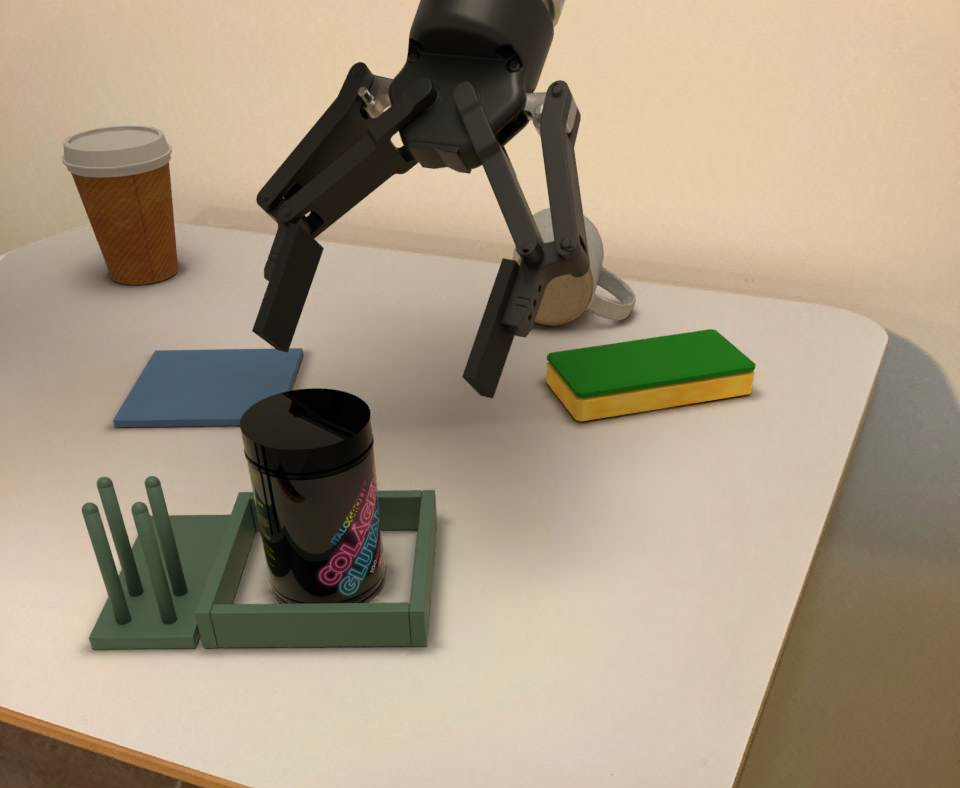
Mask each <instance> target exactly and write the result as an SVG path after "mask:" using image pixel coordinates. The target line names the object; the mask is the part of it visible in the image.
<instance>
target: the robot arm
mask: <svg viewBox="0 0 960 788" xmlns="http://www.w3.org/2000/svg"><path fill="white" fill-rule="evenodd" d="M566 1H567V0H419V3H418V6H417V8H416V11H415V15H414V17H413V21H412V23H411V26H410V30H409V34H408V45H407V55H406V61H405V63H404V65H403V66H402V68H401V69H400V70H399V72H398V73H397V74H396V75H395V76H394V77H393V78H390V77H385V76H382V75H377V74H374V73H373V72H372V71H371V70H370V68H369V67H368V65H367V64H366V63H365V62H363V61H358V62H355V63H354V64H353V65H352V66H351V67H350V68H349V70H348V71H347V72H348V73H347V74H346V76H345V79H344V81H343V83H342V86H341V88H340V90H339V91H338V93H337V94H338V95H337V96H336V98H335V99H334V101H332V102H331V104H330V105H329V106H328V107H327V109H326V110H325V111H324V112H323V113H322V115H321V116H320V118H318V120H316V122H315V123H314V124H313V126H312V127H311V128H310V129H309V131H308V132H307V133H306V134H305V135H304V137H303V138H302V139H301V140H300V141H299V143H298V144H297V145H296V146H295V147H294V149H293V150H292V151H290V153H289V155H288V156H287V157H286V158H285V160H284V161H283V162H282V163H281V164H280V166H279V167H278V168H277V169H276V170H275V172H274V173H273V174H272V175H271V177H270V178H269V179H268V180H267V181H266V182H265V184H264V185H263V187H261V188H260V190H259V191H258V193H257V194H256V198H255V200H256V204H257V205H258V206H259V208H260V209H261V210H262V211H264V213H266V214H267V215H268V217H270V218H271V219H272V220H273V221H274V222H275V223H276V224H277V230H276V234H275V235H274V238H273V242H272V245H271V247H270V250H269V253H268V256H267V260H266V262H265V264H264V268H263V278H264V279H265V280H266V281H267V282H268V283H267V287H266V289H265V292H264V295H263V298H262V301H261V303H260V306H259V309H258V312H257V315H256V317H255V321H254V324H253V326H252V329H251V332H252V333H254V334H255V335H257V336H258V337H259V338H260V339H262V340H263V341H265V342H266V343H267V344H269V346H271V347H272V348H273V349H277V350H279V351H283V352H288V351H289V348H291V344H292V342H293V339H294V336H295V334H296V330H297V328H298V324H299V323H300V318H301V315H302V314H303V310H304V308H305V304H306V302H307V298H308V296H309V293H310V290H311V287H312V284H313V281H314V278H315V276H316V273H317V269H318V267H319V264H320V262H321V258H322V256H323V252H324V249H325V248H324V246H322V245H321V244H320V243H319V242H318V240H317V239H316V238H318V237H319V236H320V235H321V234H322V233H323V232H325V231H326V230H327V229H329V228H330V227H331V226H332V225H334V224H335V223H336V222H337V221H338V220H340V219H341V218H342V217H344V215H346V214H347V213H349V212H350V211H351V210H353V209H354V207H356V206H357V205H358V204H360V203H361V202H362V201H363V200H365V198H367V197H368V196H370V194H372V193H373V192H374V191H375V190H378V188H379V187H380V186H382V185H383V184H385V183H386V182H387V181H388V180H389V179H390V178H392V177H393V176H395V175H404V174H406V173H408V172H409V171H410V170H411V169H413V168H414V167H415V166H416V165H418V164H419V165H420V166H421V167H422V168H424V169H431V170H438V169H443V168H448V169H451V170H453V171H455V172H457V173H462V174H467V175H468V174H469V175H470V174H471V173H472V170H474V169H477V168H480V167H482V168H483V170H484V173H485V175H486V178H487V179H488V182H489V184H490V187H491V190H492V193H493V195H494V197H495V199H496V201H497V204H498V207H499V209H500V211H501V214H502V216H503V219H504V221H505V224H506V227H507V228H508V231H509V234H510V236H511V238H512V241H513V243H514V246H516V248H517V249H516V251H517V253H518V254H519V256H520V257H521V262H520V265H518V263H517V262H516V260H512V259H509V258H505V257H503V258H502V259H501V261H500V265H499V267H498V270H497V274H496V276H495V280H494V283H493V285H492V287H491V291H490V294H489V297H488V300H487V303H486V305H485V308H484V312H483V315H482V317H481V320H480V322H479V326H478V329H477V332H476V335H475V338H474V341H473V343H472V344H473V345H472V347H471V350H470V353H469V355H468V358H467V362H466V365H465V367H464V371H463V373H462V376H461V378H463V379H464V381H465V382H466V383H467V384H468V385H469V386H470V387H471V388H472V389H473V390H474V391H475V392H476V393H477V394H478V395H479V396H480V397H483V398H487V399H493V400H494V397H495V394H496V392H497V389H498V386H499V383H500V380H501V377H502V374H503V371H504V368H505V365H506V362H507V359H508V356H509V354H510V351H511V347H512V345H513V342H514V338H515V337H520V338H527V337H528V336H529V334H530V333H531V332H532V330H533V327H534V325H535V323H536V322H535V318H536V316H537V313H538V310H539V307H540V304H541V302H542V299H543V296H544V293H545V290H546V287H547V285H548V284H549V282H550V281H551V280H552V279H554V278H556V277H558V276H563V275H569V274H570V275H571V276H573V277H576V278H577V277H582V276H584V275H585V274H586V273H587V272H588V271H589V269H590V259H589V252H588V244H587V237H586V230H585V223H584V216H585V215H584V209H583V208H584V207H583V202H582V196H581V195H582V194H581V187H580V180H579V173H578V167H577V166H578V165H577V160H576V159H577V158H576V152H575V146H576V142H577V137H578V133H579V130H580V129H579V128H580V123H581V119H582V114H581V112H580V110H579V107H578V105H577V102H576V100H575V98H574V95H573V93H572V91H571V88H570V87H569V85H568V83H567V81H565V80H563V79H558V80H555V81H554V82H551V84H550V85H549V86H547V90H546V91H545V92H544V91H543V92H541V91H540V92H535V91H536V89H537V87H538V84H539V81H540V78H541V76H542V72H543V69H544V67H545V64H546V61H547V58H548V55H549V52H550V49H551V46H552V44H553V40H554V35H555V27H556V26H557V25H558V23H559V19H560V18H561V15H562V12H563V9H564V7H565V4H566ZM531 121H532V124H533V127H534V128H535V131H536V132H537V134H538V136H539V137H540V141H541V142H540V143H541V151H542V159H543V165H544V166H543V167H544V173H545V182H546V189H547V196H548V204H549V208H550V212H551V220H552V227H553V235H554V241H552V242H547V243H544V241H543V239H542V236H541V234H540V232H539V229H538V227H537V225H536V222H535V220H534V217H533V215H534V214H533V213H532V210H531V207H530V206H529V203H528V201H527V198H526V196H525V193H524V191H523V189H522V187H521V184H520V182H519V180H518V175H517V172H516V171H515V168H514V165H513V163H512V161H511V158H510V156H509V154H508V151H507V149H506V147H505V146H506V145H507V144H508V143H510V141H512V140H513V139H514V138H515V137H516V136H517V135H518V134H520V132H522V131H523V130H524V129H525V128H526V127H527V126H528V125H529V123H530V122H531ZM396 134H399V137H400V140H401V143H402V146H400V147H397V146H396V145H395V143H394V142H393V141H392V138H393V137H394V136H395V135H396ZM307 214H308V215H307ZM583 215H584V216H583Z"/></svg>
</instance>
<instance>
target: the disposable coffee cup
mask: <svg viewBox="0 0 960 788" xmlns="http://www.w3.org/2000/svg"><path fill="white" fill-rule="evenodd" d="M62 146H63V154H62V156H61V162H62V164H63V165H64V166H66V169H67V171H68V172H69V173H70V174H71V176H72V179H73V182H74V184H75V186H76V187H75V188H76V190H77V192H78V195H79V198H80V200H81V202H82V206H83V207H84V210H85V213H86V216H87V218H88V220H89V223H90V226H91V228H92V231H93V234H94V236H95V239H96V242H97V244H98V246H99V247H98V248H99V249H100V252H101V255H102V257H103V259H104V262H105V265H106V268H107V271H108V272H109V276H110V278H111V280H112V281H113V282H115V283H119V284H123V285H131V286H138V285H140V286H141V285H149V284H153V283H158V282H159V283H160V282H163V281H164V280H167V279H170V278H172V277H173V276H174V275H176V274H177V273H178V271H179V262H178V252H177V251H178V250H177V240H176V226H175V215H174V204H173V203H174V202H173V190H172V181H171V180H172V179H171V168H170V161H171V159H172V156H171V154H172V153H173V148H172V147H173V146H172V145H171V144H169V143H168V141H167V139H166V136H165V134H164V131H162V130H161V129H159V128H157V127H153V126H146V125H111V126H110V125H109V126H104V127H98V128H92V129H87V130H84V131H80V132H77V133H73V134H72V135H70V136H68V137H67V138H65V139H64V141H63V145H62Z"/></svg>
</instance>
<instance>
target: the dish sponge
mask: <svg viewBox="0 0 960 788" xmlns="http://www.w3.org/2000/svg"><path fill="white" fill-rule="evenodd" d="M546 361H547V362H546V374H545V375H546V380H545V382H546V384H547V385H548V386H549V387H550V389H551V390H552V391H553V393H554V394H555V395H556V397H557V398H558V399H559V400H560V402H561V403H562V404H563V405H564V407H565V408H566V410H568V412H569V414H571V416H572V417H573V418H574V420H575V421H577V422H586V421H593V420H599V419H605V418H611V417H617V416H624V415H628V414H629V415H630V414H635V413H641V412H649V411H654V410H660V409H667V408H671V407H672V408H673V407H678V406H685V405H690V404H697V403H704V402H709V401H714V400H722V399H728V398H732V397H733V398H734V397H740V396H746V395H751V393H752V391H753V385H754V380H755V379H754V378H755V369H756V365H757V364H756V363H755V362H754V361H753V360H752V359H750V358H749V356H747V355H746V354H745V353H744V352H742V351H741V350H740V349H739V348H738V347H736V346H735V345H734V344H733V343H731V341H730V340H728V339H727V338H726V337H725V336H723V335H722V334H721V333H720V332H719V331H718V330H717V329H714V328H713V329H712V328H709V329H703V330H702V329H701V330H695V331H689V332H682V333H681V332H680V333H674V334H669V335H662V336H654V337H647V338H641V339H634V340H627V341H621V342H614V343H608V344H600V345H594V346H587V347H581V348H580V347H579V348H573V349H566V350H561V351H553V352H549V353H547V354H546Z"/></svg>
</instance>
